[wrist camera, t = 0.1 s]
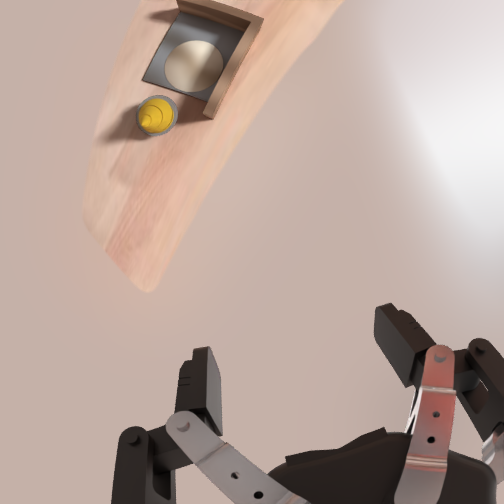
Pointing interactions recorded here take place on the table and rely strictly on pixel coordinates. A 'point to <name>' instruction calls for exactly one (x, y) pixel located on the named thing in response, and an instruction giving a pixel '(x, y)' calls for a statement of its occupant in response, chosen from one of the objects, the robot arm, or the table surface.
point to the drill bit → (156, 115)
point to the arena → (204, 50)
